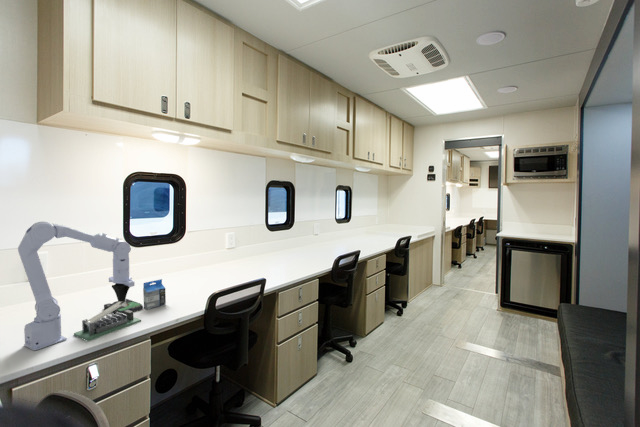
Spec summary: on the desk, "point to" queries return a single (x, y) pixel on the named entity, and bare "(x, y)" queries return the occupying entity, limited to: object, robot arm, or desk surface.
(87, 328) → the heat sink
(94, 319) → the strap
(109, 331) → the board
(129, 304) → the disk drive
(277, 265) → the desk surface
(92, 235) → the robot arm
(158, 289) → the label tape box
